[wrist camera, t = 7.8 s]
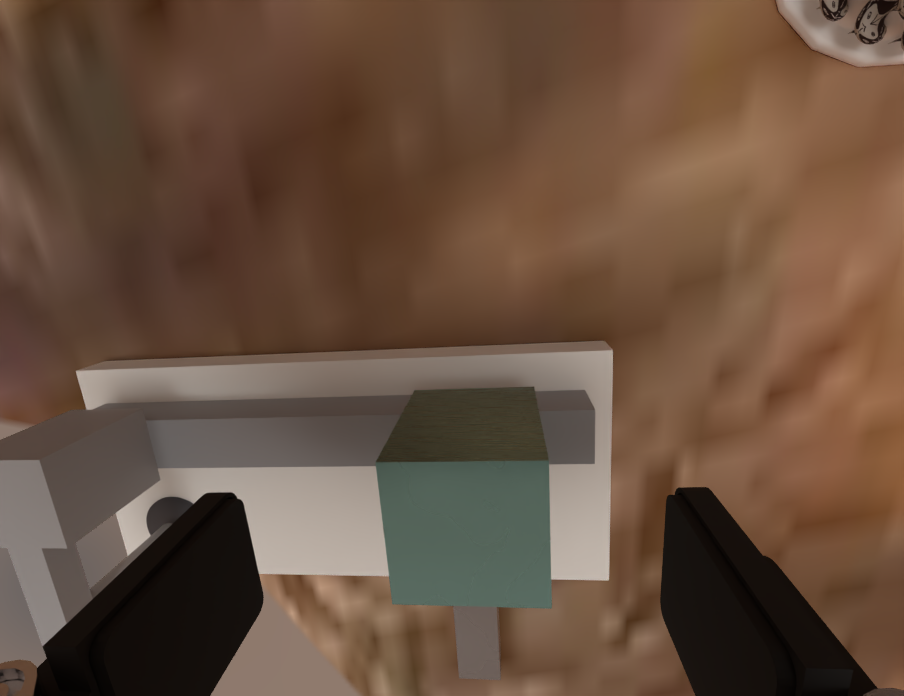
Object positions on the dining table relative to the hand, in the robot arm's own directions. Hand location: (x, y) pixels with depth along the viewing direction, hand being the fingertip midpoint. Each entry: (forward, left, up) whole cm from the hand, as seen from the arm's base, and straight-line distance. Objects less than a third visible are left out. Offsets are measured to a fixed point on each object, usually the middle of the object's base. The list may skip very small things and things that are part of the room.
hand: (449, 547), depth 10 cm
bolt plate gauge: (+3, -6, -10) cm, 12 cm away
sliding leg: (+2, 0, -8) cm, 8 cm away
